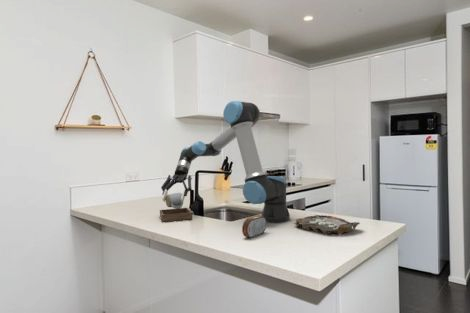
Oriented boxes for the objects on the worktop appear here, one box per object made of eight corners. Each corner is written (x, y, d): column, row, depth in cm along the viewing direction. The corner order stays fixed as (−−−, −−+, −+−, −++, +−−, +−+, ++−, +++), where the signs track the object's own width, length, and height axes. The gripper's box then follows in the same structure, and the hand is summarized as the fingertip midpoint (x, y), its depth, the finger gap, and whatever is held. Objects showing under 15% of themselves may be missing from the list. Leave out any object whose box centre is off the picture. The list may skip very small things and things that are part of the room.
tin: (262, 231, 152) (261, 213, 152) (267, 232, 150) (267, 214, 150) (241, 239, 140) (241, 219, 140) (247, 240, 138) (247, 220, 138)
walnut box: (192, 220, 179) (192, 212, 179) (162, 222, 174) (162, 215, 174) (187, 214, 194) (187, 207, 194) (160, 216, 189) (159, 209, 189)
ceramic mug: (164, 206, 185) (164, 192, 185) (178, 204, 189) (178, 191, 189) (171, 209, 176) (171, 195, 176) (186, 208, 180) (185, 194, 180)
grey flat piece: (284, 228, 161) (284, 217, 160) (312, 220, 174) (312, 210, 174) (338, 240, 137) (337, 227, 137) (366, 230, 151) (365, 218, 150)
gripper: (202, 173, 196) (194, 204, 182) (166, 173, 201) (155, 203, 186) (199, 165, 191) (190, 196, 176) (162, 165, 196) (151, 195, 181)
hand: (172, 200), depth 181 cm, fingers closed on ceramic mug, 10 cm apart
